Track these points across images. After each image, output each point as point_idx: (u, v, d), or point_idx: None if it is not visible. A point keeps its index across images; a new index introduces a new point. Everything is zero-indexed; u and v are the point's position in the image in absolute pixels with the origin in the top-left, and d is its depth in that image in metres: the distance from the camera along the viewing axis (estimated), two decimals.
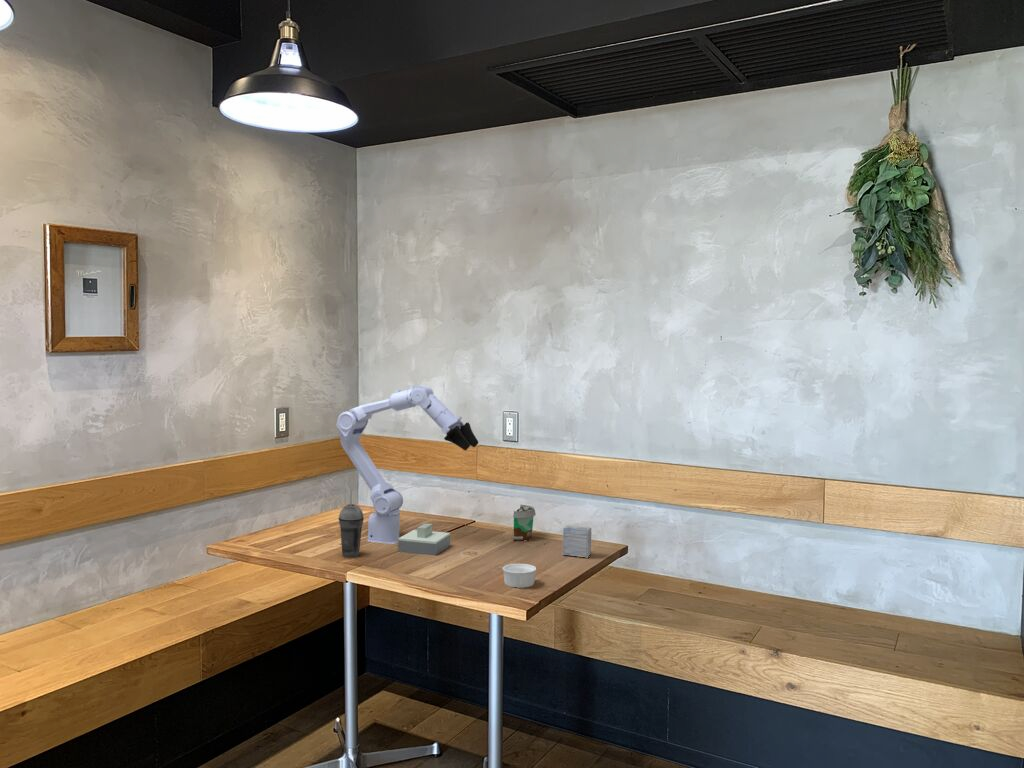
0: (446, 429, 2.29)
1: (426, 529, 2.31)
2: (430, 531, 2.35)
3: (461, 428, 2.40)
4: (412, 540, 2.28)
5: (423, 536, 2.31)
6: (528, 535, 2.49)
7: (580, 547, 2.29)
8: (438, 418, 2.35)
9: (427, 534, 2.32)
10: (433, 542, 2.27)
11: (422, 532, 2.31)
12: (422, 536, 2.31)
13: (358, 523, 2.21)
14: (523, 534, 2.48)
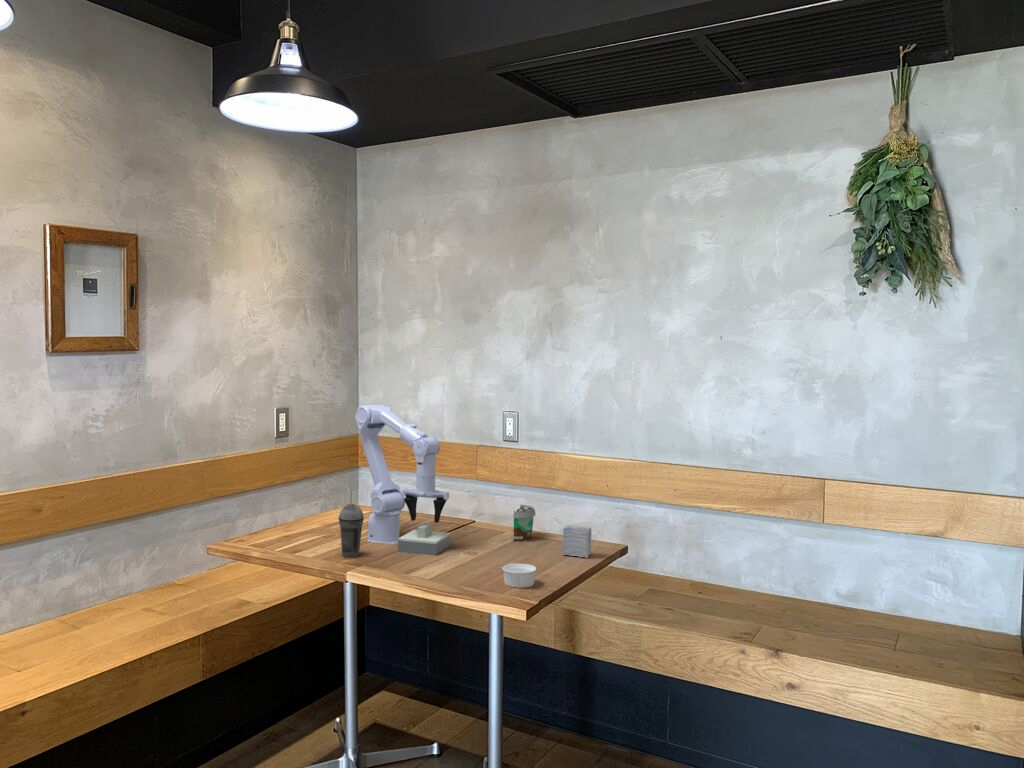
0: None
1: (426, 529, 2.31)
2: (430, 531, 2.35)
3: None
4: (412, 540, 2.28)
5: (423, 536, 2.31)
6: (528, 535, 2.49)
7: (580, 547, 2.29)
8: None
9: (427, 534, 2.32)
10: (433, 542, 2.27)
11: (422, 532, 2.31)
12: (422, 536, 2.31)
13: (358, 523, 2.21)
14: (523, 534, 2.48)
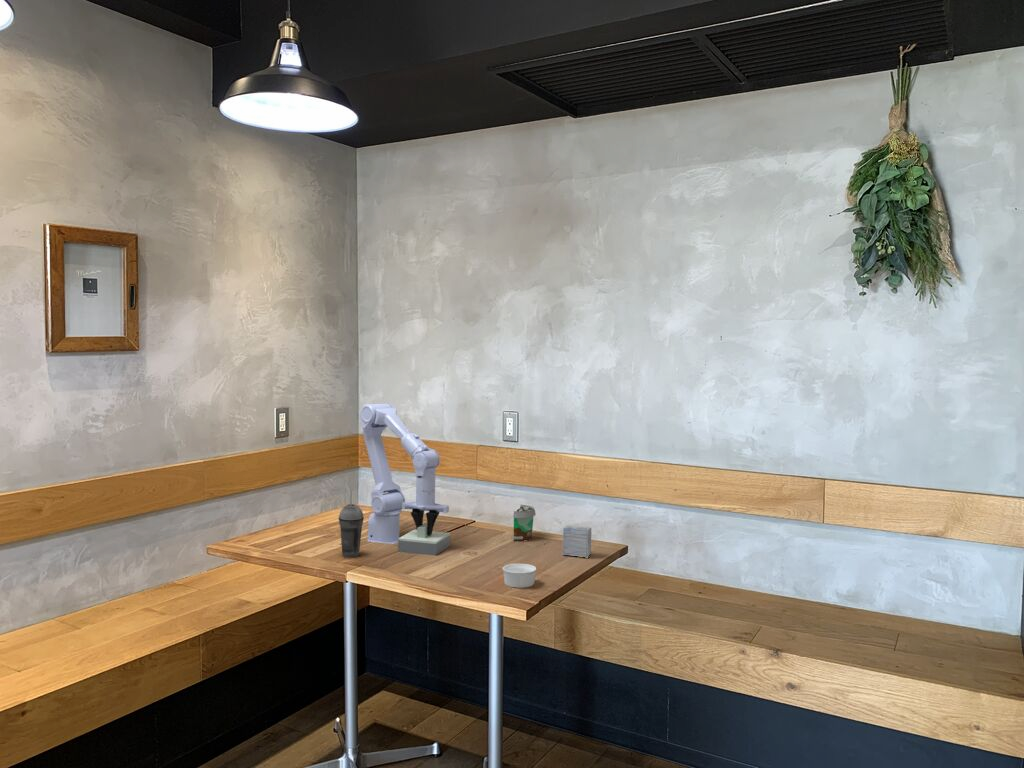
0: None
1: (426, 529, 2.31)
2: None
3: None
4: (412, 540, 2.28)
5: (423, 536, 2.31)
6: (528, 535, 2.49)
7: (580, 547, 2.29)
8: None
9: None
10: (433, 542, 2.27)
11: (422, 532, 2.31)
12: (422, 536, 2.31)
13: (358, 523, 2.21)
14: (523, 534, 2.48)
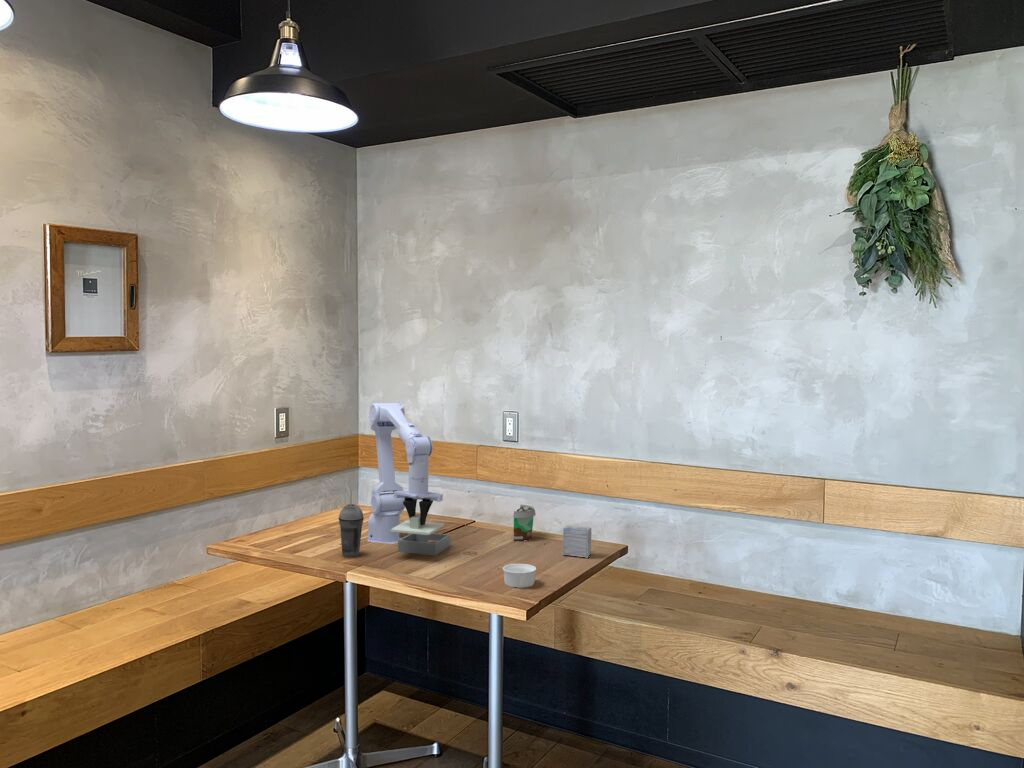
0: None
1: (419, 519, 2.23)
2: None
3: None
4: (405, 531, 2.20)
5: (416, 527, 2.22)
6: (528, 535, 2.49)
7: (580, 547, 2.29)
8: None
9: (420, 525, 2.24)
10: (426, 533, 2.18)
11: (415, 523, 2.22)
12: (415, 527, 2.22)
13: (358, 523, 2.21)
14: (523, 534, 2.48)
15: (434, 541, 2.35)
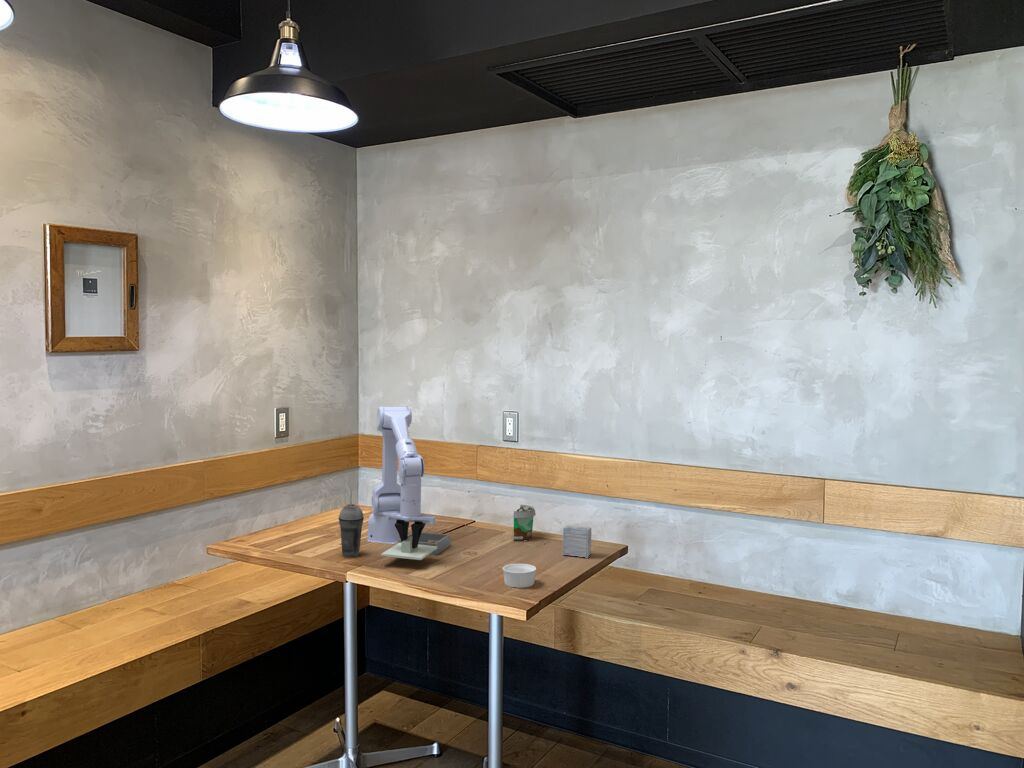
0: None
1: (411, 543, 2.16)
2: None
3: None
4: (396, 556, 2.13)
5: (408, 551, 2.15)
6: (528, 535, 2.49)
7: (580, 547, 2.29)
8: None
9: (412, 549, 2.17)
10: (418, 558, 2.11)
11: (407, 547, 2.15)
12: (407, 551, 2.15)
13: (358, 523, 2.21)
14: (523, 534, 2.48)
15: (434, 541, 2.35)
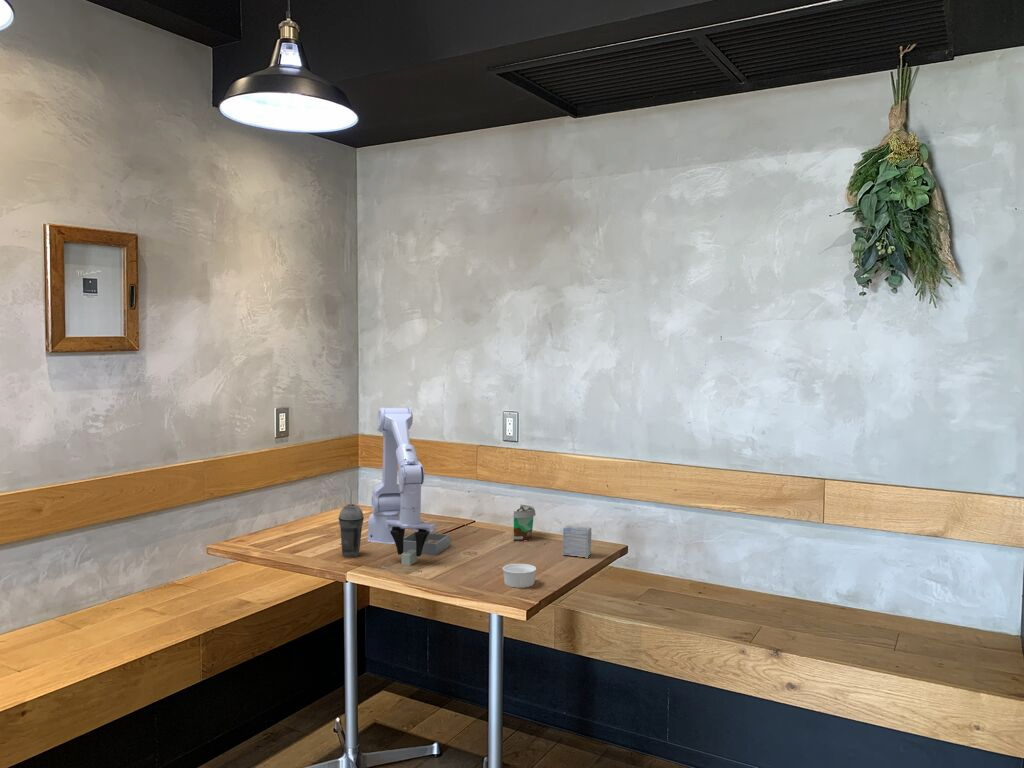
0: None
1: (411, 556, 2.16)
2: (415, 558, 2.19)
3: None
4: (396, 568, 2.13)
5: (408, 564, 2.15)
6: (528, 535, 2.49)
7: (580, 547, 2.29)
8: None
9: (412, 561, 2.17)
10: (418, 571, 2.11)
11: (407, 560, 2.15)
12: (407, 564, 2.15)
13: (358, 523, 2.21)
14: (523, 534, 2.48)
15: (434, 541, 2.35)
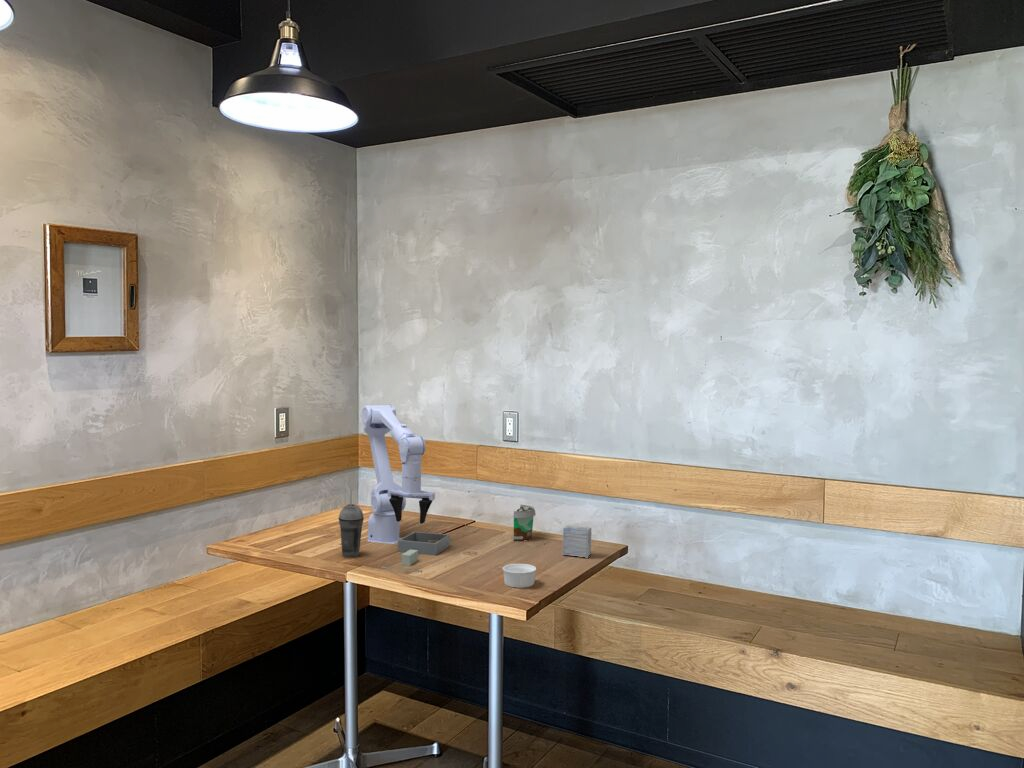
0: None
1: (411, 556, 2.16)
2: (415, 558, 2.19)
3: None
4: (396, 568, 2.13)
5: (408, 564, 2.15)
6: (528, 535, 2.49)
7: (580, 547, 2.29)
8: None
9: (412, 561, 2.17)
10: (418, 571, 2.11)
11: (407, 560, 2.15)
12: (407, 564, 2.15)
13: (358, 523, 2.21)
14: (523, 534, 2.48)
15: (434, 541, 2.35)
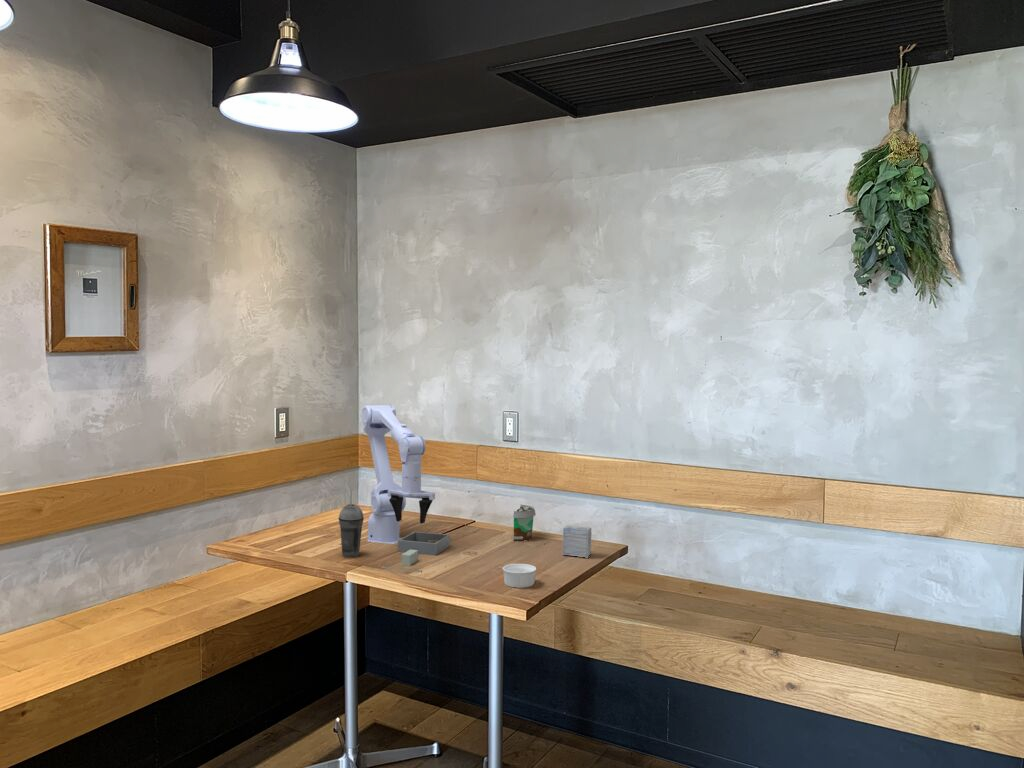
0: None
1: (411, 556, 2.16)
2: (415, 558, 2.19)
3: None
4: (396, 568, 2.13)
5: (408, 564, 2.15)
6: (528, 535, 2.49)
7: (580, 547, 2.29)
8: None
9: (412, 561, 2.17)
10: (418, 571, 2.11)
11: (407, 560, 2.15)
12: (407, 564, 2.15)
13: (358, 523, 2.21)
14: (523, 534, 2.48)
15: (434, 541, 2.35)
